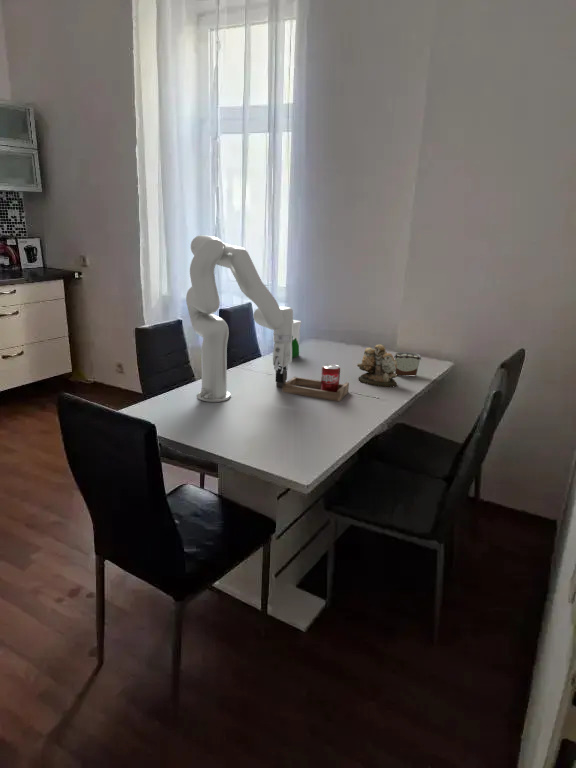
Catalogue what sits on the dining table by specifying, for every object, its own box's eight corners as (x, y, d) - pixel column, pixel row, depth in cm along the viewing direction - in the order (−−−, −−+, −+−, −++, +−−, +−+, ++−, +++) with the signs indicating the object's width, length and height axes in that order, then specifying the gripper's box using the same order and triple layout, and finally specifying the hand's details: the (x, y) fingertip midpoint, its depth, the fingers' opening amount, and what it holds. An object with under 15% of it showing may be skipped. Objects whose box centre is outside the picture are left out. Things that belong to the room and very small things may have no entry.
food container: (417, 373, 246) (420, 352, 243) (419, 377, 240) (421, 355, 237) (390, 371, 247) (392, 350, 244) (392, 375, 241) (394, 354, 238)
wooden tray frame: (339, 401, 204) (340, 384, 202) (271, 389, 214) (272, 373, 212) (348, 392, 215) (349, 375, 213) (283, 381, 225) (284, 365, 223)
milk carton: (277, 356, 266) (278, 317, 259) (287, 352, 273) (288, 314, 267) (292, 359, 261) (294, 319, 255) (301, 355, 269) (303, 316, 262)
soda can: (337, 398, 208) (339, 369, 204) (319, 397, 209) (320, 368, 205) (339, 393, 214) (341, 364, 211) (321, 391, 216) (323, 363, 212)
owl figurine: (352, 383, 228) (355, 344, 223) (360, 376, 239) (363, 339, 234) (393, 389, 221) (397, 350, 216) (399, 382, 232) (403, 344, 227)
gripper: (283, 343, 204) (281, 388, 210) (298, 335, 218) (296, 377, 224) (265, 340, 207) (264, 385, 212) (282, 332, 221) (280, 374, 227)
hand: (281, 380), depth 218 cm, fingers closed on wooden tray frame, 3 cm apart
